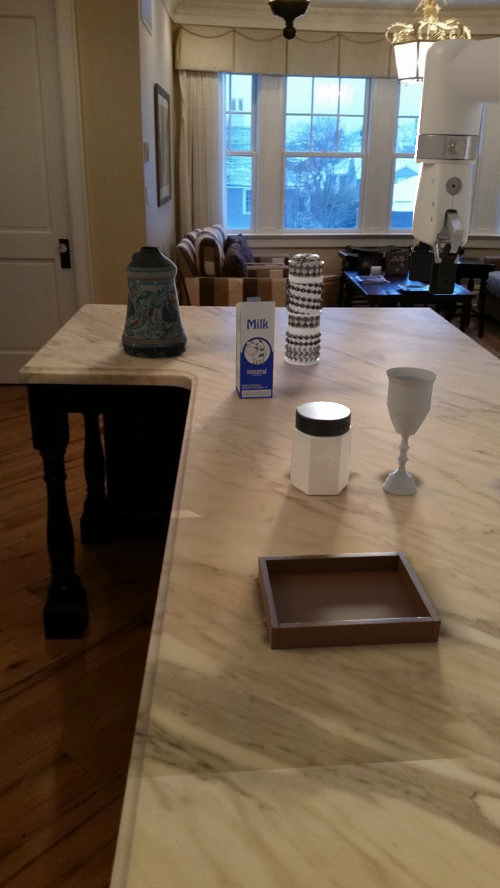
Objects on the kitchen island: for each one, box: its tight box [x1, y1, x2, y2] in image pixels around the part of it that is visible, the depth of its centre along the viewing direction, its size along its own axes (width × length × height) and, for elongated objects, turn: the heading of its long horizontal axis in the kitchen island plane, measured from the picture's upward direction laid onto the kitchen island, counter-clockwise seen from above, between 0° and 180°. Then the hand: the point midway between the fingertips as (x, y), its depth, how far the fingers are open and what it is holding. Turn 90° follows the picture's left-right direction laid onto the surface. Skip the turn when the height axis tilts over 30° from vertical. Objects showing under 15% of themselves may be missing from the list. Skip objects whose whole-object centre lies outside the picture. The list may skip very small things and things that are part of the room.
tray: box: [257, 551, 442, 650], centre depth 79 cm, size 18×14×3 cm
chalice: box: [382, 366, 439, 497], centre depth 103 cm, size 7×7×18 cm
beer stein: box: [121, 246, 189, 359], centre depth 174 cm, size 16×19×25 cm
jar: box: [289, 401, 354, 496], centre depth 105 cm, size 9×8×12 cm
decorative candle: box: [284, 253, 326, 366], centre depth 166 cm, size 9×9×25 cm
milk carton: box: [235, 296, 277, 400], centre depth 144 cm, size 7×7×20 cm
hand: (429, 287), depth 96 cm, fingers open, 9 cm apart
